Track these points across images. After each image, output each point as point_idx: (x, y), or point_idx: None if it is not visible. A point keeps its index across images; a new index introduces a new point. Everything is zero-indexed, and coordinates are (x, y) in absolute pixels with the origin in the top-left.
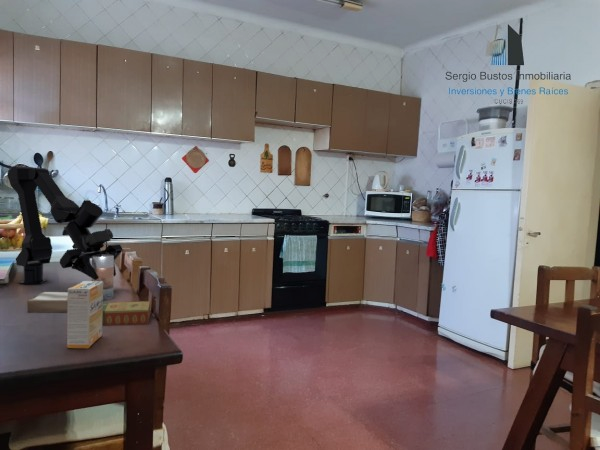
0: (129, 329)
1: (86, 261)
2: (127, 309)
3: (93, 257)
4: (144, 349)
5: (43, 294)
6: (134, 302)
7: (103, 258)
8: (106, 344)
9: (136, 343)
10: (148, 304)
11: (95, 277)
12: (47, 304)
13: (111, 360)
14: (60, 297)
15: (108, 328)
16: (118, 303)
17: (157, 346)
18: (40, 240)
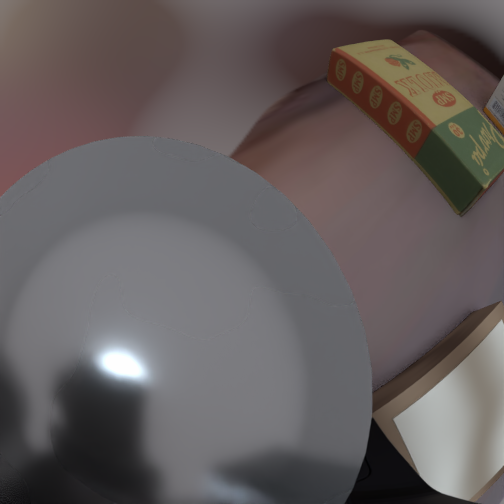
0: None
1: (416, 499)
2: (428, 67)
3: (348, 481)
4: (451, 52)
5: (476, 484)
6: (378, 68)
7: (276, 204)
8: (486, 93)
9: (451, 62)
10: (362, 43)
11: None
12: None
13: (493, 75)
14: (490, 379)
15: None
16: (420, 98)
17: (433, 43)
18: None
